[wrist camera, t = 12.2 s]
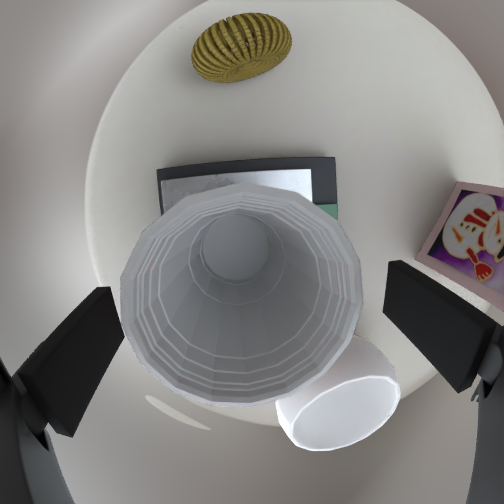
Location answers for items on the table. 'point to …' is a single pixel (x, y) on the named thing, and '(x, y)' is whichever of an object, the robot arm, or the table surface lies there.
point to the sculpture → (241, 47)
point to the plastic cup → (241, 295)
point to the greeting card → (470, 241)
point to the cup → (342, 400)
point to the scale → (254, 179)
